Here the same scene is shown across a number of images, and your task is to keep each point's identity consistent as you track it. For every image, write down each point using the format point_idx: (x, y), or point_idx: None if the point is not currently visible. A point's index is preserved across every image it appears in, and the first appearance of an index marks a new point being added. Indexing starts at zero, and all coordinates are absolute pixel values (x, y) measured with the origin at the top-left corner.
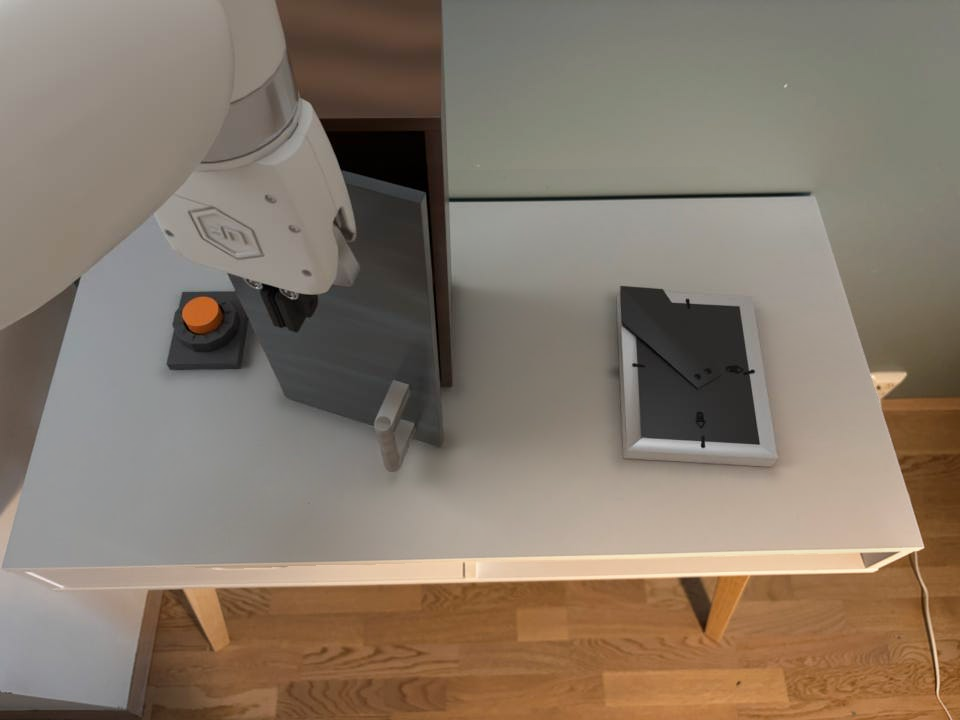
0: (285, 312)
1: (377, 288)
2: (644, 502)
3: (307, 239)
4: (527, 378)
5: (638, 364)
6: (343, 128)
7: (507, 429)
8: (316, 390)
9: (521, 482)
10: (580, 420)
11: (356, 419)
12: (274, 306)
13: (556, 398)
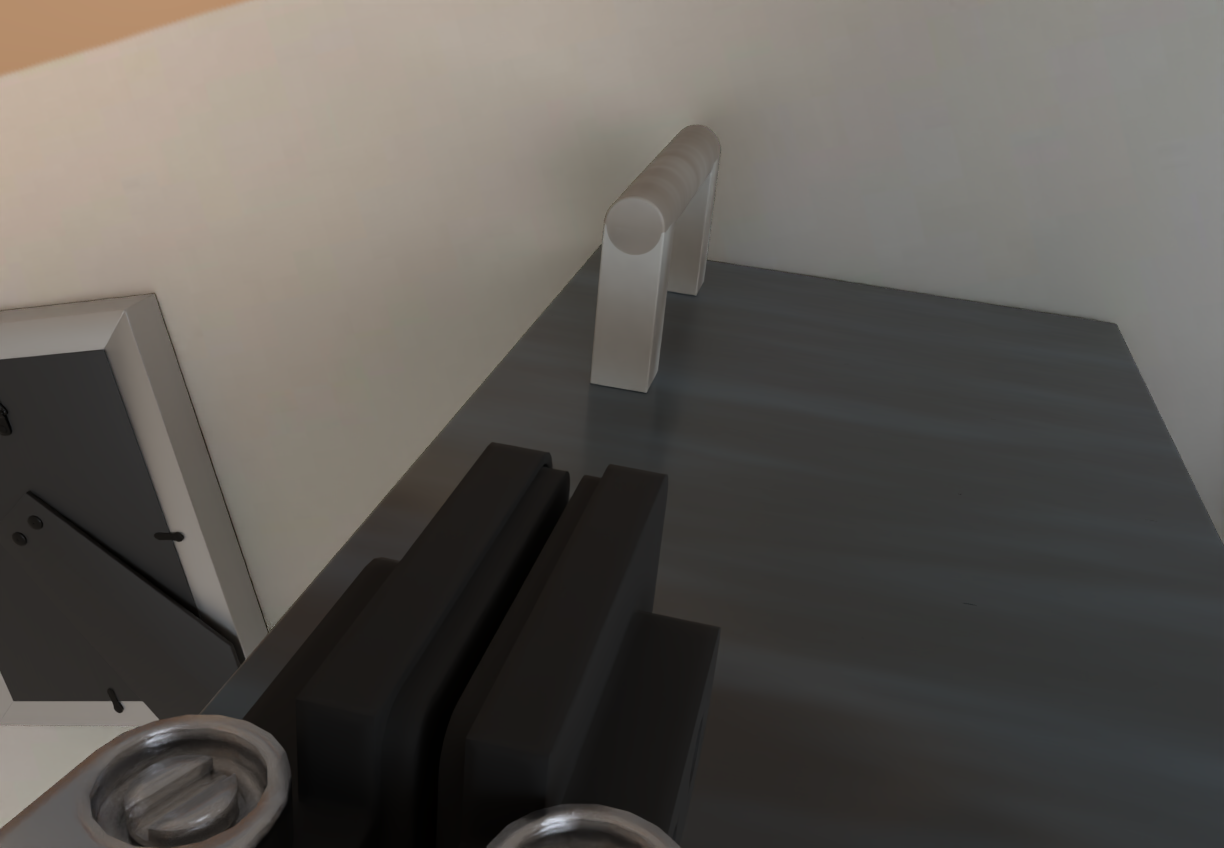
0: (415, 581)
1: None
2: (76, 186)
3: None
4: None
5: (169, 539)
6: None
7: (444, 325)
8: (987, 347)
9: (368, 181)
10: (278, 378)
11: (866, 286)
12: (510, 628)
13: (350, 429)
